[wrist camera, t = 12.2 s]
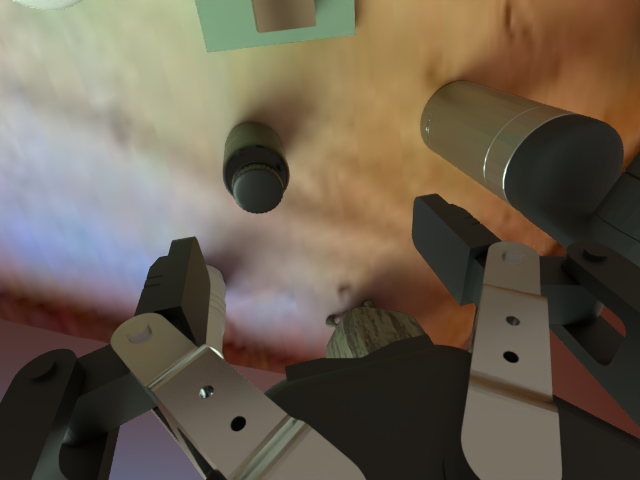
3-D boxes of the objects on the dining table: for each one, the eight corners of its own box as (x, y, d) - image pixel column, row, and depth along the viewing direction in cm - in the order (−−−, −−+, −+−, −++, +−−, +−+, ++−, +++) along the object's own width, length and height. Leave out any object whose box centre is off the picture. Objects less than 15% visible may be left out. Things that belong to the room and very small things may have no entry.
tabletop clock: (315, 324, 61) (356, 483, 41) (334, 284, 57) (390, 437, 37) (386, 333, 66) (455, 478, 46) (409, 296, 62) (495, 437, 42)
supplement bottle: (220, 122, 41) (215, 158, 31) (279, 119, 42) (293, 152, 32) (228, 178, 44) (227, 226, 35) (283, 174, 46) (296, 219, 36)
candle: (168, 269, 50) (147, 354, 37) (217, 256, 50) (212, 336, 38) (187, 304, 54) (173, 391, 41) (232, 291, 54) (232, 374, 42)
